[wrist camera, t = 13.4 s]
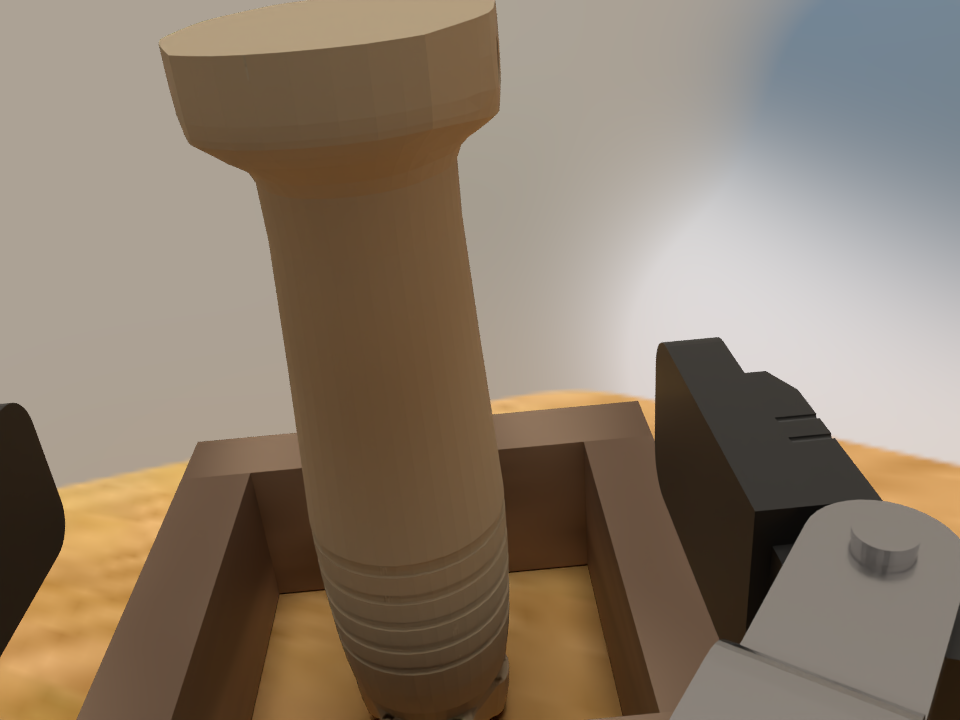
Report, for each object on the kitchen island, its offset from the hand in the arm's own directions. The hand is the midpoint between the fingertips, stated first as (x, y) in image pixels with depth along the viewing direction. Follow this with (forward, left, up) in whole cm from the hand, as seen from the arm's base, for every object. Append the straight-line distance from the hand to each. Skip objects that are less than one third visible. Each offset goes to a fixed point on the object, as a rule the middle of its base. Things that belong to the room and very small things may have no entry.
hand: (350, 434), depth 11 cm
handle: (0, +5, -11) cm, 12 cm away
